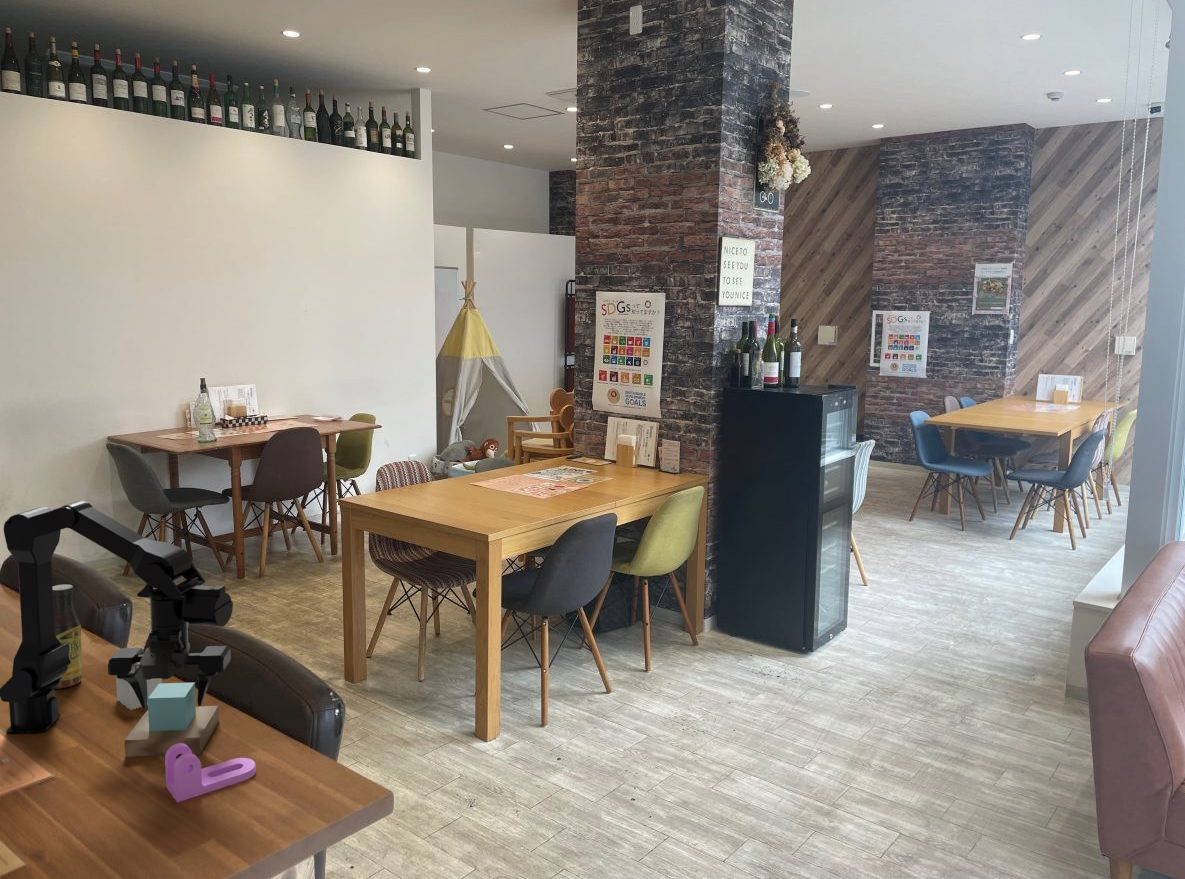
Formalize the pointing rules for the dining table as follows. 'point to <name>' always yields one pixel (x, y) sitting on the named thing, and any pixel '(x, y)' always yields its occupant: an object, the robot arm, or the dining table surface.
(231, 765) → the bracket
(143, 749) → the walnut stand
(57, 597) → the sauce bottle
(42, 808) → the dining table surface
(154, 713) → the teal cube
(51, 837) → the dining table surface
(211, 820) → the dining table surface
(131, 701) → the white cube
